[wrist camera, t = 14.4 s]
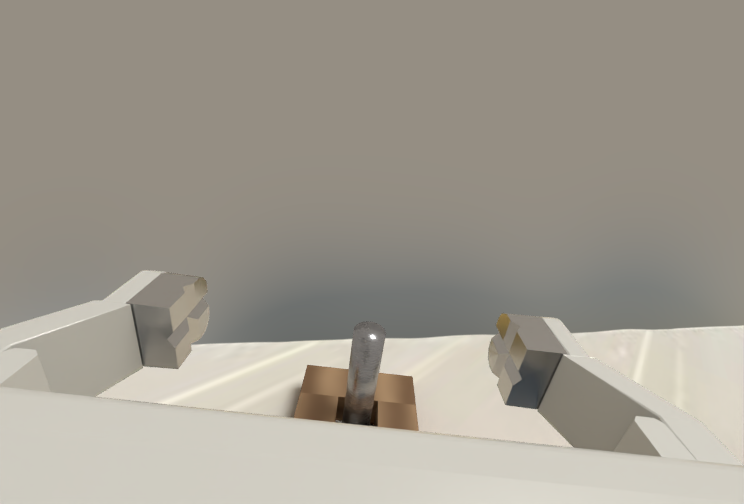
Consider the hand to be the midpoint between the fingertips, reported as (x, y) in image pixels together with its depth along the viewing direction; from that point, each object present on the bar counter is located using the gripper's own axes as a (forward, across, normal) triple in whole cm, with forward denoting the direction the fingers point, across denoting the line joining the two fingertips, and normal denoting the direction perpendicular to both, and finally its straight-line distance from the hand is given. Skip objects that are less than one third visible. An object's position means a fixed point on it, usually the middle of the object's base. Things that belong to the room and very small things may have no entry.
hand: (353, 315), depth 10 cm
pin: (+20, -2, +32) cm, 38 cm away
